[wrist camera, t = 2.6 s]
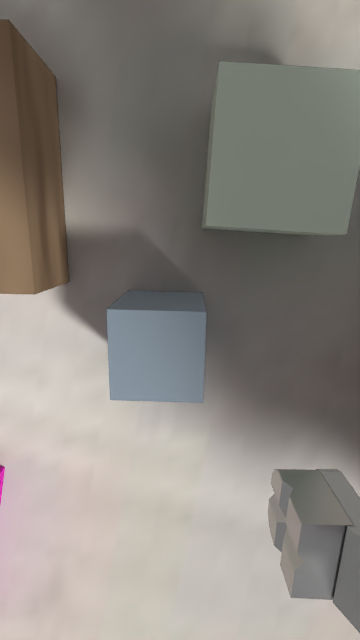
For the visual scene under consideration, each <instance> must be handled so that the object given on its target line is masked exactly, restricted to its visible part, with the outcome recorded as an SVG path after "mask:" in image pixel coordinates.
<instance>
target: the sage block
mask: <svg viewBox="0 0 360 640" xmlns="http://www.w3.org/2000/svg"><path fill="white" fill-rule="evenodd" d="M359 167H360V70H354V69H338V68H322V67H306V66H290V65H274V64H258V63H242V62H226V61H219V66H218V71H217V77H216V83H215V88H214V94H213V99H212V105H211V117H210V130H209V143H208V156H207V169H206V181H205V194H204V207H203V220H202V228H204V229H219V230H234V231H250V232H265V233H280V234H295V235H347V231H348V225H349V220H350V215H351V210H352V204H353V199H354V194H355V188H356V183H357V178H358V173H359Z"/></svg>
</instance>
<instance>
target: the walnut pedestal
mask: <svg viewBox="0 0 360 640" xmlns="http://www.w3.org/2000/svg"><path fill="white" fill-rule="evenodd" d="M67 282H69V271H68V256H67V241H66V226H65V211H64V196H63V182H62V167H61V152H60V137H59V122H58V107H57V92H56V77H55V75H54V74H53V73H52V72H51V71H50V69H49V68H48V67H47V66H46V64H45V63H44V62H43V61H42V60H41V58H40V57H39V56H38V55H37V53H36V52H35V51H34V50H33V49H32V47H31V46H30V45H29V44H28V43H27V41H26V40H25V39H24V38H23V36H22V35H21V34H20V33H19V32H18V30H17V29H16V28H15V27H14V25H13V24H12V23H11V22H10V21H9V20H0V294H37V293H40V292H43V291H45V290H48V289H51V288H54V287H56V286H59V285H62V284H65V283H67Z"/></svg>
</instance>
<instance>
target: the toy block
mask: <svg viewBox="0 0 360 640" xmlns="http://www.w3.org/2000/svg"><path fill="white" fill-rule="evenodd" d="M4 469H5V467H2V466H0V503H1V495H2V486H3V478H4Z"/></svg>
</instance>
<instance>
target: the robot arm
mask: <svg viewBox="0 0 360 640" xmlns="http://www.w3.org/2000/svg"><path fill="white" fill-rule="evenodd" d="M271 485H272V488H273V491H274V495H273V496H272V497H271V498H270V499H269V506H268V518H269V527H270V532H271V536H272V540H273V543H274V546H275V547H276V548H277V549H279V550H280V551H281V552H282V555H281V563H280V566H281V569H282V572H283V575H284V578H285V581H286V584H287V587H288V590H289V594H290V597H291V598H308V599H327V600H333V603H334V604H335V605H336V607H337V608H338V609H339V610H340V611H341V612H342V613H343V615H344V616H345V617H346V618H347V619H348V620H349V621H350V622H351V624H352V625H353V626H354V627H355V628H356V629H357V630H358V632H359V633H360V497H359V496H358V494H357V493H356V492H355V490H354V489H353V487H352V486H351V485H350V483H349V482H348V480H347V479H346V478H345V476H344V475H343V473H342V472H341V471H339V470H337V469H316V470H295V469H274V471H273V473H272V478H271Z"/></svg>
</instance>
